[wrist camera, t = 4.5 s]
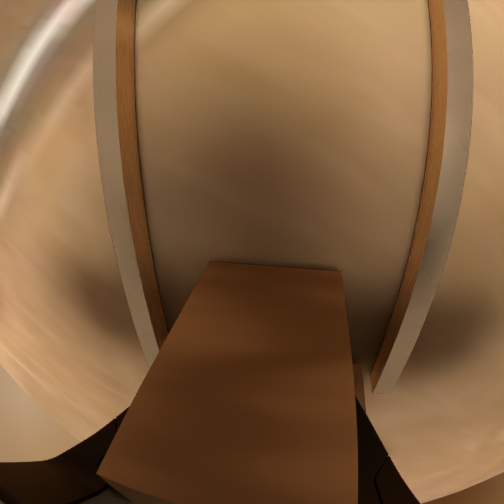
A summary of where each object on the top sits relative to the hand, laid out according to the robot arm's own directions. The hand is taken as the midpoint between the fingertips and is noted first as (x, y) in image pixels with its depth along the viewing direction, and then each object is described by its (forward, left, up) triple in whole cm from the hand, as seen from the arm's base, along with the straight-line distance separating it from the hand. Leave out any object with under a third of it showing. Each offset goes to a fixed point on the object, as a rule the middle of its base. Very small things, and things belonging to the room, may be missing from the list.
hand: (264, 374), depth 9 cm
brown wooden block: (0, +2, -2) cm, 3 cm away
